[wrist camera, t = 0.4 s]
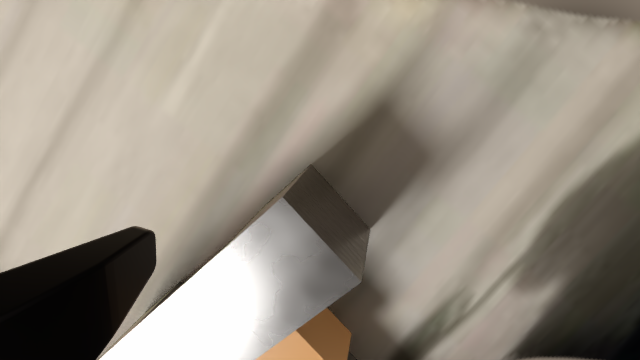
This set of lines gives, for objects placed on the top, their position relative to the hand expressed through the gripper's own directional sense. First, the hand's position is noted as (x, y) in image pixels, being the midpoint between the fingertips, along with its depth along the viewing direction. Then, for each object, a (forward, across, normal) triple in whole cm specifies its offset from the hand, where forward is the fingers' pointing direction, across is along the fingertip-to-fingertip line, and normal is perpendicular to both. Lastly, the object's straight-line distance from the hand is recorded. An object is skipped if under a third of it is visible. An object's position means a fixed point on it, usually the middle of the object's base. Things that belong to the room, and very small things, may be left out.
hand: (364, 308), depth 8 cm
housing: (+12, +6, +12) cm, 19 cm away
